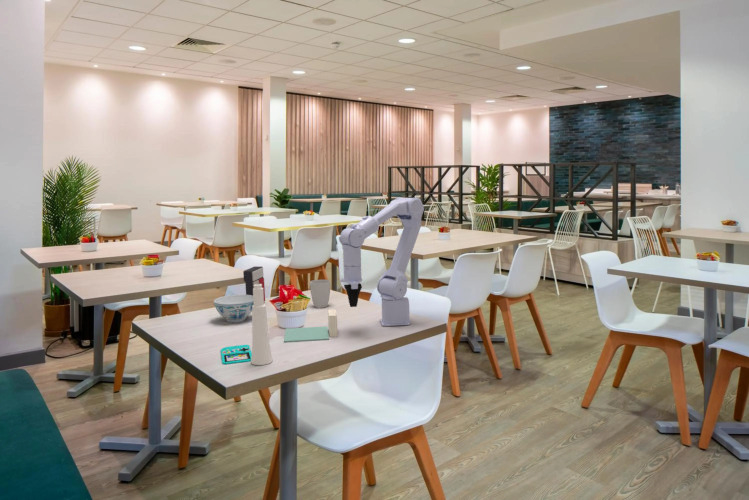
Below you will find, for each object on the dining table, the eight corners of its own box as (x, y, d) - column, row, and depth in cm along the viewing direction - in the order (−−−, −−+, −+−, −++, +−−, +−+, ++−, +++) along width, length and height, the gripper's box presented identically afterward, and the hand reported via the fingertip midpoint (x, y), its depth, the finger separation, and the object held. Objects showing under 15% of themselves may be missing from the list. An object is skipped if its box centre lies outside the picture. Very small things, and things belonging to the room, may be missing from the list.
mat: (327, 327, 185) (327, 326, 185) (328, 339, 171) (328, 338, 171) (285, 329, 183) (285, 328, 183) (284, 342, 169) (283, 341, 169)
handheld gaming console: (248, 343, 167) (253, 359, 153) (249, 346, 167) (253, 362, 153) (220, 346, 164) (222, 362, 150) (220, 350, 164) (222, 366, 150)
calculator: (255, 308, 214) (253, 271, 212) (245, 308, 215) (243, 270, 213) (266, 302, 225) (264, 266, 223) (256, 301, 226) (254, 266, 224)
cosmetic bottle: (246, 364, 150) (242, 286, 147) (258, 357, 156) (254, 281, 153) (265, 366, 148) (261, 287, 145) (276, 359, 154) (273, 282, 151)
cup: (334, 304, 217) (333, 280, 216) (324, 309, 210) (323, 284, 208) (317, 303, 220) (316, 279, 219) (306, 307, 213) (305, 282, 212)
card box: (336, 329, 182) (335, 309, 181) (337, 336, 174) (337, 315, 173) (328, 330, 182) (327, 309, 181) (329, 337, 174) (328, 315, 173)
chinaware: (261, 314, 205) (260, 294, 204) (251, 325, 190) (250, 303, 189) (222, 314, 205) (221, 294, 204) (209, 325, 190) (207, 304, 189)
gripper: (338, 262, 182) (339, 301, 184) (341, 269, 168) (342, 312, 170) (359, 261, 183) (360, 301, 185) (364, 268, 169) (364, 311, 171)
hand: (353, 306), depth 178 cm, fingers closed
